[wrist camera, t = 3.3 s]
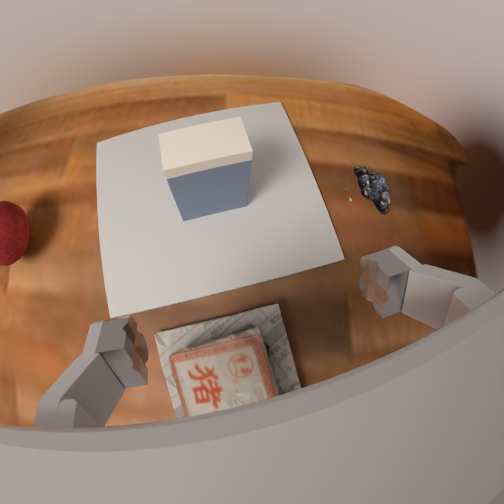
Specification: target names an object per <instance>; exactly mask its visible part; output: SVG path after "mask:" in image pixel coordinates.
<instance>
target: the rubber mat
mask: <svg viewBox="0 0 504 504" xmlns="http://www.w3.org/2000/svg"><path fill="white" fill-rule="evenodd" d="M236 117H241V119H242V122H243V124H244V127H245V130H246V133H247V136H248V139H249V142H250V144H251V147H252V150H253V154H252V164H251V173H250V183H249V192H248V202H247V206H246V207H242V208H237V209H233V210H229V211H224V212H220V213H216V214H212V215H207V216H203V217H199V218H195V219H191V220H187V221H183V219H182V217H181V214H180V212H179V209H178V207H177V205H176V202H175V200H174V197H173V195H172V192H171V190H170V187H169V184H168V182H167V179H166V177H165V174H164V172H163V166H162V159H161V151H160V144H159V136H158V134H161V133H165V132H169V131H173V130H177V129H182V128H186V127H190V126H195V125H200V124H204V123H209V122H214V121H219V120H225V119H230V118H236ZM97 209H98V225H99V238H100V249H101V258H102V267H103V275H104V282H105V289H106V295H107V301H108V307H109V313H110V318H116V317H120V316H125V315H130V314H134V313H138V312H143V311H147V310H152V309H156V308H160V307H165V306H169V305H173V304H178V303H182V302H186V301H190V300H194V299H198V298H203V297H207V296H211V295H215V294H219V293H223V292H227V291H231V290H235V289H239V288H243V287H246V286H250V285H254V284H258V283H262V282H266V281H269V280H273V279H277V278H281V277H285V276H288V275H292V274H296V273H299V272H303V271H307V270H310V269H314V268H317V267H321V266H325V265H328V264H332V263H335V262H339V261H342V260H344V259H345V258H344V256H343V253H342V250H341V247H340V244H339V241H338V238H337V236H336V233H335V230H334V227H333V225H332V222H331V219H330V216H329V214H328V211H327V209H326V206H325V203H324V201H323V198H322V196H321V193H320V191H319V188H318V186H317V183H316V181H315V178H314V176H313V173H312V171H311V168H310V166H309V164H308V161H307V159H306V157H305V154H304V152H303V150H302V147H301V145H300V143H299V141H298V138H297V136H296V134H295V132H294V130H293V127H292V125H291V123H290V121H289V119H288V117H287V114H286V112H285V110H284V108H283V106H282V104H281V102H273V103H265V104H257V105H250V106H244V107H237V108H231V109H225V110H220V111H214V112H209V113H204V114H199V115H195V116H190V117H186V118H181V119H177V120H173V121H169V122H165V123H161V124H157V125H153V126H150V127H146V128H142V129H139V130H135V131H132V132H129V133H125V134H122V135H119V136H116V137H113V138H110V139H107V140H104V141H101V142H98V143H97Z"/></svg>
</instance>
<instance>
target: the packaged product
mask: <svg viewBox="0 0 504 504" xmlns="http://www.w3.org/2000/svg"><path fill="white" fill-rule="evenodd" d="M154 335H155V339H156V343H157V347H158V351H159V358H160V361H161V365H162V369H163V372H164V375H165V378H166V382H167V386H168V390H169V393H170V397H171V400H172V404H173V407H174V410H175V414H176V417H177V418H183V417H189V416H195V415H200V414H205V413H210V412H215V411H220V410H224V409H228V408H233V407H237V406H241V405H245V404H249V403H253V402H257V401H260V400H264V399H268V398H271V397H275V396H278V395H282V394H285V393H288V392H291V391H294V390H298V389H301V386H300V382H299V379H298V376H297V371H296V367H295V364H294V360H293V356H292V352H291V349H290V345H289V341H288V337H287V334H286V330H285V326H284V324H283V320H282V316H281V312H280V308H279V305H278V304H274V305H269V306H265V307H260V308H256V309H253V310H249V311H246V312H242V313H239V314H235V315H231V316H226V317H221V318H216V319H212V320H207V321H203V322H199V323H195V324H190V325H186V326H182V327H178V328H174V329H170V330H167V331H162V332H158V333H154Z"/></svg>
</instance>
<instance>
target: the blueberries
mask: <svg viewBox="0 0 504 504" xmlns="http://www.w3.org/2000/svg"><path fill="white" fill-rule="evenodd" d="M354 172H355V174H356V176H357V177H358V184H359V187H360V189H361V194H362V195H363V196H364V197H366V198H368V199H369V200H371V201H373V202H374V204H375V206H376V208H377V210H378V211H379V212H380V213H381V214H384V215H385V214H386V213H388V212H389V204H390V195H389V192H390V188H389V186H388V185H387V183H386V180H385V179H384V178H383V177H382V176H380V175H379V174H377V173H371V174H369V172H368V170H367V169H366V168H365V167H361V166H359V167H355V168H354ZM347 190H348V189H347ZM348 191H349V190H348ZM349 201H352V199H351V198H350V199H349Z"/></svg>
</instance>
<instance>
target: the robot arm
mask: <svg viewBox="0 0 504 504" xmlns="http://www.w3.org/2000/svg"><path fill="white" fill-rule="evenodd" d="M360 267H361V268H362V270H363V272H362V273H361V275H360V276H359V286H360V290H361V293H362V295H363V296H364V298H365V299H366V300H367V301H370V302H373V308H374V309H375V311H376V312H377V313H378V314H379V315H380V316H381V318H382V319H383V318H385V317H388V316H391V315H393V314H396V313H398V312H401V313H403V314H405V315H407V316H409V317H411V318H413V319H416V320H418V321H420V322H422V323H424V324H426V325H428V326H430V327H432V328H434V329H436V331H435V332H433V333H431V334H429V335H427V336H425V337H423V338H421V339H419V340H417V341H415V342H413V343H411V344H409V345H407V346H405V347H403V348H401V349H399V350H397V351H395V352H392V353H390V354H388V355H386V356H384V357H381V358H379V359H377V360H375V361H372V362H370V363H368V364H365V365H363V366H360V367H358V368H356V369H353V370H351V371H348V372H346V373H343V374H340V375H338V376H335V377H332V378H330V379H327V380H324V381H321V382H318V383H316V384H313V385H310V386H307V387H304V388H301V389H298V390H294V391H291V392H288V393H285V394H282V395H278V396H275V397H271V398H268V399H264V400H260V401H257V402H253V403H249V404H245V405H241V406H237V407H233V408H228V409H224V410H220V411H215V412H210V413H205V414H200V415H195V416H189V417H183V418H177V419H171V420H164V421H157V422H149V423H141V424H132V425H121V426H107V427H104V426H105V424H106V423H107V421H108V419H109V417H110V416H111V414H112V412H113V410H114V409H115V407H116V405H117V403H118V402H119V400H120V398H121V396H122V395H123V393H124V391H125V388H131V387H136V386H142V385H147V380H148V369H147V367H146V366H145V363H146V362H147V360H148V349H147V344H146V341H145V339H144V337H143V335H142V333H140V332H138V331H137V330H136V329H137V323H136V321H135V319H134V318H133V317H132V316H131V315H129V316H124V317H118V318H113V319H108V320H103V321H98V322H93V323H92V324H91V325H90V328H89V332H88V335H87V339H86V343H85V346H84V350H83V354H82V356H78V357H77V359H76V360H75V361H74V362H73V363H72V364H71V365H70V366H69V367H68V368H67V369H66V371H65V372H64V373H63V374H62V375H61V376H60V377H59V378H58V379H57V380H56V382H55V383H54V384H53V385H52V386H51V387H50V388H49V389H48V391H47V392H46V393H45V394H44V395H43V396H42V397H41V399H40V400H39V404H38V408H37V412H36V417H35V421H34V426H33V427H23V426H10V425H1V424H0V504H504V289H503V290H501V291H500V292H499V293H497V294H495V293H494V292H493V291H492V290H491V289H490V288H488V287H487V286H486V285H485V284H483V283H482V282H481V281H480V280H479V279H477V278H474V277H470V276H467V275H463V274H460V273H456V272H452V271H449V270H445V269H441V268H438V267H434V266H430V265H427V264H425V265H422V264H420V263H419V262H418V261H417V260H415V259H414V258H413V257H412V256H410V255H409V254H408V253H407V252H405V251H404V250H403V249H401V248H400V247H399V246H392V247H389V248H386V249H384V250H381V251H378V252H375V253H371V254H368V255H365V256H362V258H361V260H360Z"/></svg>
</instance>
